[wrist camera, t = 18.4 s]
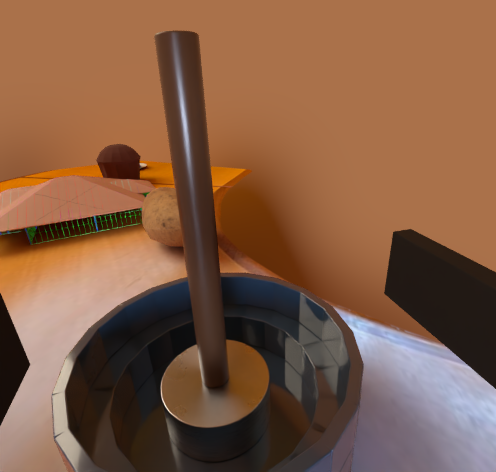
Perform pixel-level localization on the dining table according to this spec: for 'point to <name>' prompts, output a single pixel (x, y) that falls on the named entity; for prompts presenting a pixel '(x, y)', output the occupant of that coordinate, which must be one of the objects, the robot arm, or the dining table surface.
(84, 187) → the house
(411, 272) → the robot arm
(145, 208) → the potato
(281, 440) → the bowl
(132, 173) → the muffin
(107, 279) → the dining table surface
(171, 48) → the brown rod with cylinder
